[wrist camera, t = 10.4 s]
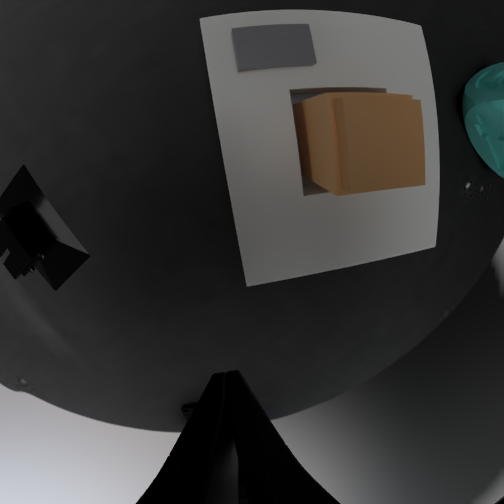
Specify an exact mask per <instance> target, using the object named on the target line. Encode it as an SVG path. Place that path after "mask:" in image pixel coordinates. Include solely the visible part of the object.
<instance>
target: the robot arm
mask: <svg viewBox="0 0 504 504" xmlns="http://www.w3.org/2000/svg"><path fill="white" fill-rule="evenodd" d="M181 411H182V413H183V414H184V416H185V418H186V419H187V421H188V422H187V423H186V425H185V427H184V429H183V431H182V432H181V434H180V436H179V438H178V440H177V442H176V444H175V445H174V447H173V449H172V451H171V452H170V456H168V457H167V459H166V461H165V463H164V465H163V467H162V468H161V470H160V471H159V473H158V475H157V476H156V478H155V479H154V480H153V482H152V483H151V485H150V486H149V488H148V489H147V490H146V491H145V493H144V494H143V495H142V496H141V498H140V499H139V500H138V502H137V503H136V504H340V503H339V502H338V501H337V500H336V499H335V498H333V497H332V496H331V495H330V494H329V493H328V492H327V491H326V490H325V489H324V488H323V487H322V486H321V485H320V484H319V483H318V482H316V480H314V478H312V476H311V475H310V474H309V473H308V472H307V471H306V470H305V469H304V468H303V467H302V466H301V464H300V463H299V462H298V460H297V459H296V458H295V456H294V455H293V454H292V452H291V451H290V449H289V448H288V446H287V445H285V443H284V441H283V439H282V438H281V436H280V435H279V434H278V432H277V430H276V429H275V427H274V426H273V424H272V423H271V421H270V420H269V418H268V416H267V415H266V413H265V412H264V410H263V409H262V407H261V405H260V404H259V402H258V401H257V399H256V397H255V396H254V394H253V393H252V391H251V389H250V388H249V386H248V384H247V383H246V381H245V379H244V378H243V376H242V374H241V373H240V371H239V370H235V371H229V372H227V373H225V372H221V373H215V374H213V375H212V377H211V379H210V381H209V383H208V384H207V386H206V388H205V390H204V392H203V394H202V396H201V398H200V399H199V401H198V403H197V404H195V405H184V406H182V408H181ZM495 504H504V497H502V498H501V499H500V500H499V501H497V502H496V503H495Z"/></svg>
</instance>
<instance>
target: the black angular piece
mask: <svg viewBox="0 0 504 504" xmlns="http://www.w3.org/2000/svg"><path fill="white" fill-rule="evenodd" d="M0 218H1V221H0V257H1V256H2V255H3V254H4V252H5V250H6V249H7V248H8V250H9V251H10V252H11V253H10V254H9V256H8V257H7V259H6V260H5V262H4V265H5V267H6V268H7V270H8V271H9V272H10V274H11V275H12V276H13V277H14V279H15V280H16V279H17V278H18V277H19V276H20V275H21V274H22V275H23V276H25V275H26V274H27V273H28V272H29V271H30V272H31V273H32V272H33V271H34V270H35V268H34V267H36V268H37V270H38V271H39V272H40V273H41V275H42V276H43V277H44V278H45V280H46V281H47V282H48V283H49V284H50V286H51V287H52V288H53V289H54V290H55V291H56V290H57V289H58V288H59V287H60V286H61V285H62V284H63V283H64V282H65V281H66V280H67V279H68V278H69V277H70V276H71V275H72V274H73V273H74V272H75V271H76V270H77V269H78V268H79V267H80V266H81V265H82V264H83V263H84V262H85V261H86V260H87V259H88V258H89V257H90V255H89V254H88V252H87V251H86V250H85V249H84V247H83V246H82V245H81V244H80V243H79V241H78V240H77V239H76V238H75V236H74V235H73V234H72V232H71V231H70V230H69V229H68V227H67V226H66V225H65V223H64V222H63V221H62V219H61V218H60V217H59V215H58V214H57V213H56V211H55V210H54V208H53V207H52V206H51V204H50V203H49V201H48V200H47V199H46V197H45V196H44V194H43V193H42V191H41V190H40V188H39V187H38V185H37V184H36V182H35V181H34V179H33V178H32V176H31V175H30V173H29V171H28V170H27V168H26V167H25V165H23V166H22V167H21V168H20V170H19V171H18V172H17V174H16V175H15V176H14V178H13V179H12V181H11V182H10V184H9V185H8V187H7V188H6V189H5V191H4V192H3V194H2V196H1V197H0Z"/></svg>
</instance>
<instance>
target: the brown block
mask: <svg viewBox="0 0 504 504" xmlns="http://www.w3.org/2000/svg"><path fill="white" fill-rule="evenodd" d="M292 105H293V111H294V118H295V125H296V132H297V139H298V147H299V154H300V162H301V171H302V175H303V176H304V177H306V178H308V179H309V180H311V181H313V182H314V183H316V184H318V185H319V186H321V187H323V188H324V189H326V190H328V191H329V192H331V193H333V194H334V195H336V196H342V195H349V194H357V193H364V192H372V191H380V190H388V189H397V188H406V187H415V186H422V185H425V146H424V130H423V118H422V108H421V100H416V99H413V98H412V95H406V94H392V93H368V92H333V93H323V94H320V95H317V96H314V97H311V98H309V99H306V100H303V101H300V102H297V103H295V104H292Z"/></svg>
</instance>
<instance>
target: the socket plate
mask: <svg viewBox="0 0 504 504" xmlns="http://www.w3.org/2000/svg"><path fill="white" fill-rule="evenodd" d="M200 25H201V31H202V37H203V43H204V49H205V56H206V62H207V68H208V74H209V80H210V86H211V91H212V97H213V103H214V109H215V115H216V121H217V126H218V132H219V138H220V143H221V149H222V155H223V160H224V166H225V172H226V177H227V183H228V188H229V194H230V199H231V205H232V210H233V215H234V221H235V226H236V232H237V237H238V242H239V248H240V253H241V258H242V264H243V269H244V274H245V279H246V285H247V287H248V286H253V285H259V284H264V283H269V282H275V281H280V280H285V279H290V278H295V277H300V276H305V275H310V274H315V273H320V272H325V271H330V270H335V269H340V268H344V267H349V266H354V265H358V264H363V263H367V262H372V261H377V260H381V259H385V258H390V257H394V256H399V255H403V254H407V253H411V252H416V251H420V250H424V249H428V248H432V247H435V244H436V235H437V223H438V209H439V179H440V166H439V137H438V123H437V112H436V103H435V95H434V87H433V81H432V75H431V69H430V64H429V58H428V54H427V49H426V44H425V40H424V36H423V32H422V28H421V26H420V25H416V24H412V23H408V22H403V21H399V20H394V19H389V18H383V17H377V16H371V15H364V14H356V13H348V12H337V11H322V10H269V11H253V12H242V13H233V14H225V15H218V16H212V17H206V18H200ZM333 92H368V93H392V94H406V95H412V98H413V99H416V100H421V108H422V118H423V130H424V146H425V185H422V186H415V187H406V188H397V189H388V190H380V191H372V192H364V193H357V194H349V195H342V196H336V195H334V194H333V193H331V192H329V191H328V190H326V189H324V188H323V187H321V186H319V185H318V184H316V183H314V182H313V181H311V180H309V179H308V178H306V177H304V176H303V175H302V171H301V162H300V154H299V147H298V139H297V132H296V125H295V118H294V111H293V105H292V104H295V103H297V102H300V101H303V100H306V99H309V98H311V97H314V96H317V95H320V94H323V93H333Z"/></svg>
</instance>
